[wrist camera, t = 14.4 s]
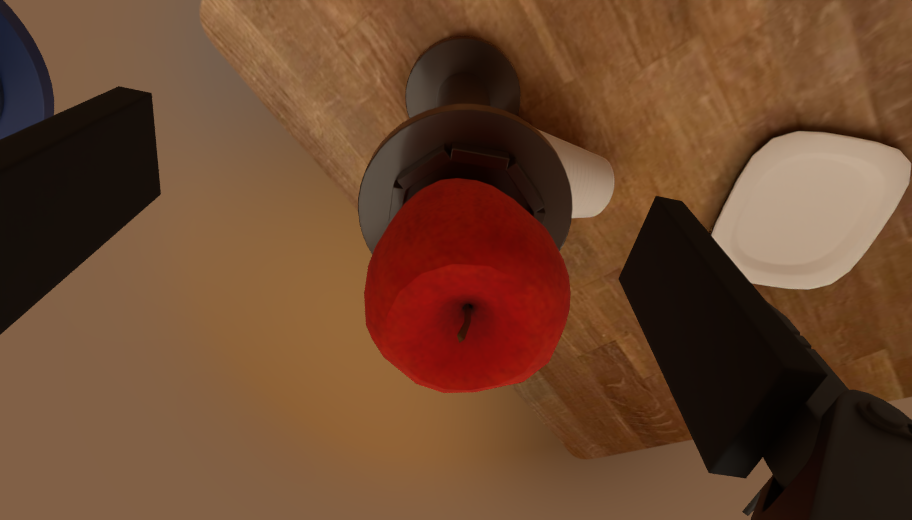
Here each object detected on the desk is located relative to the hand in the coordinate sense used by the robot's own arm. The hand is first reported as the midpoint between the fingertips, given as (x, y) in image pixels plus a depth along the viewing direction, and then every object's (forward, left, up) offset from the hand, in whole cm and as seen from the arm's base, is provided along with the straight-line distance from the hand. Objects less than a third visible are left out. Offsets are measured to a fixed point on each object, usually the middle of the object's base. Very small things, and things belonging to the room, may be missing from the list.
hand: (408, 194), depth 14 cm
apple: (+3, -7, -14) cm, 16 cm away
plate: (+42, -13, -40) cm, 59 cm away
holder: (+3, -7, -40) cm, 40 cm away
